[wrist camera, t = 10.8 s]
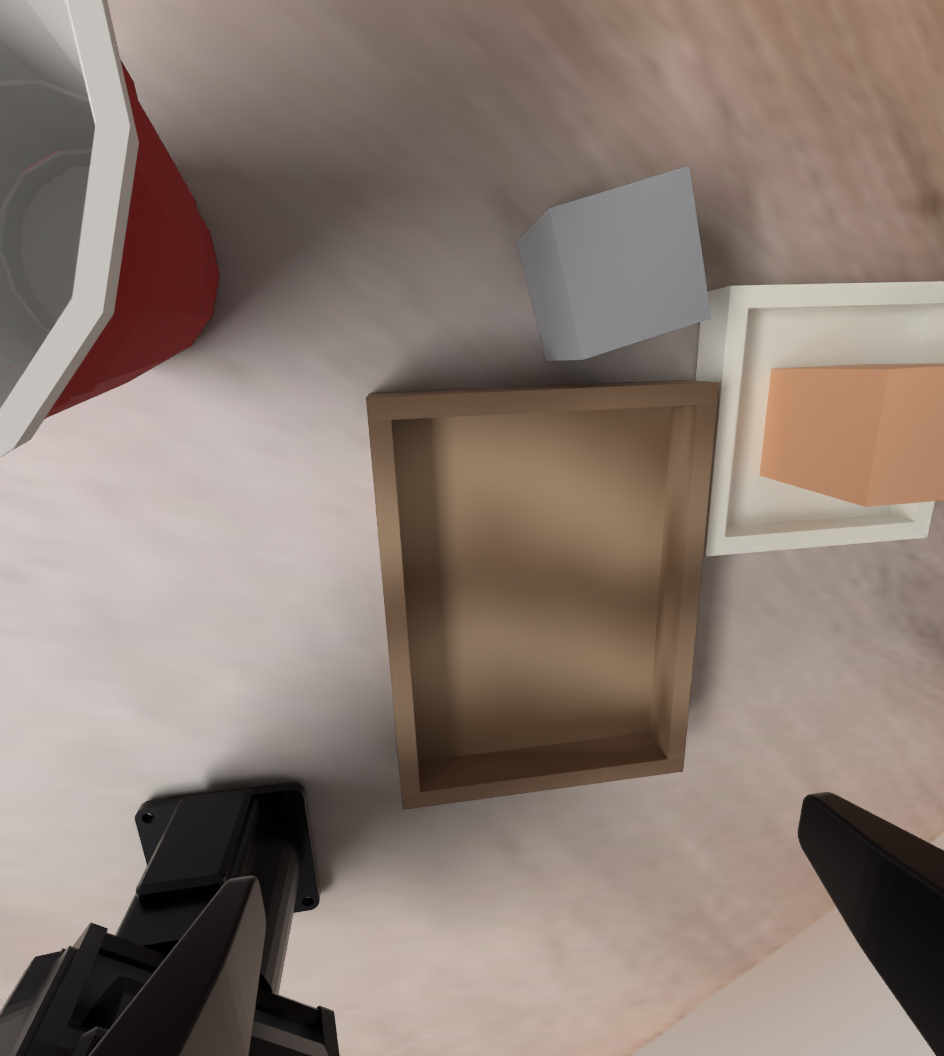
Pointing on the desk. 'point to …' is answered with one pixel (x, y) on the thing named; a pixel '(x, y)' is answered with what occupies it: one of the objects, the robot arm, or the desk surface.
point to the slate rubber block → (616, 267)
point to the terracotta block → (858, 432)
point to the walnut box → (540, 580)
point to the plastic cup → (86, 221)
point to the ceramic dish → (744, 377)
